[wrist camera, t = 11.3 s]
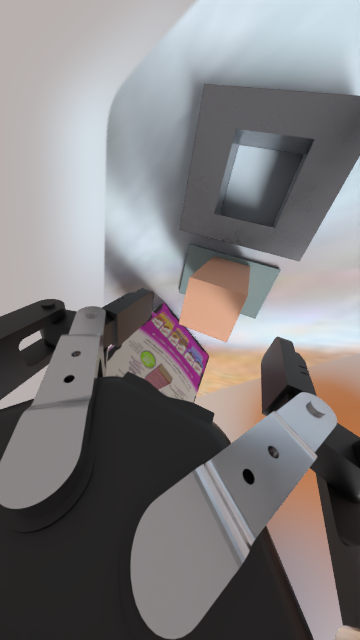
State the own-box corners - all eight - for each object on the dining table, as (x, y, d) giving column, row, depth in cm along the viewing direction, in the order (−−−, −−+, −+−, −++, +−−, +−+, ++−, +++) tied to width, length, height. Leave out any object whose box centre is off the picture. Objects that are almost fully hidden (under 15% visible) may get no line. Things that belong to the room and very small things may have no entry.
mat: (279, 269, 18) (280, 270, 17) (255, 317, 21) (255, 318, 21) (190, 244, 20) (189, 244, 19) (180, 291, 23) (179, 292, 23)
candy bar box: (144, 317, 27) (39, 406, 14) (164, 300, 25) (57, 392, 11) (187, 367, 29) (132, 488, 16) (211, 357, 26) (167, 494, 13)
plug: (250, 266, 18) (247, 295, 11) (236, 299, 20) (226, 342, 13) (214, 256, 19) (189, 276, 12) (204, 289, 21) (178, 324, 14)
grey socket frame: (364, 123, 12) (392, 98, 10) (292, 255, 17) (299, 261, 14) (213, 107, 14) (204, 83, 12) (189, 228, 19) (179, 229, 17)
